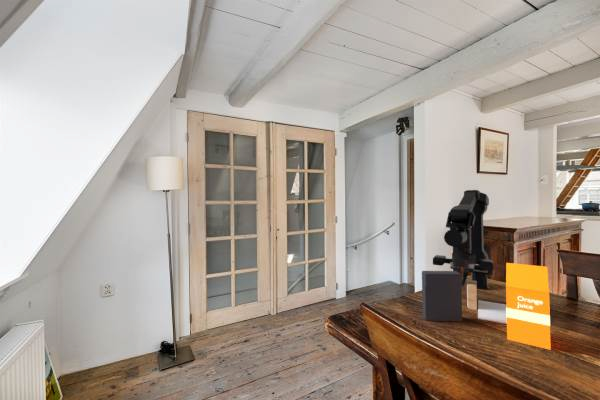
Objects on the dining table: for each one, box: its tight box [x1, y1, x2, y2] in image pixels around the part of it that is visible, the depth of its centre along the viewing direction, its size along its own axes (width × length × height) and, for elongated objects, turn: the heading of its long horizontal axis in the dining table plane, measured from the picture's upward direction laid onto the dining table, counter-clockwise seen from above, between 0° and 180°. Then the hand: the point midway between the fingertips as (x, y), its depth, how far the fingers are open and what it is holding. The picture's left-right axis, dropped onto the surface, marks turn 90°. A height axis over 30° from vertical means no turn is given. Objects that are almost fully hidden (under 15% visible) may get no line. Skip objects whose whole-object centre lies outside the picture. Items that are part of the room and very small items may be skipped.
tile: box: [466, 279, 478, 311], centre depth 98 cm, size 8×3×8 cm, turn 147°
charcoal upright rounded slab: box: [421, 270, 463, 322], centre depth 88 cm, size 11×4×15 cm, turn 84°
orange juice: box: [505, 262, 552, 351], centre depth 74 cm, size 8×9×20 cm
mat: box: [477, 299, 507, 325], centre depth 90 cm, size 18×16×1 cm
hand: (462, 286), depth 100 cm, fingers closed
